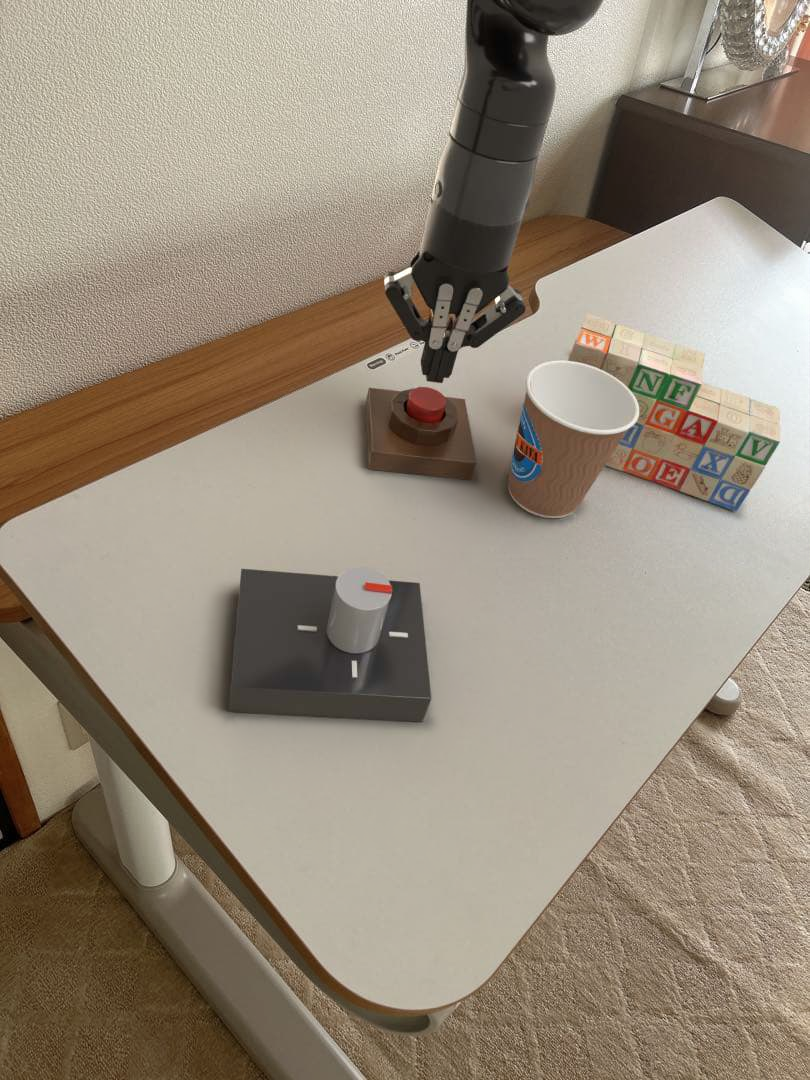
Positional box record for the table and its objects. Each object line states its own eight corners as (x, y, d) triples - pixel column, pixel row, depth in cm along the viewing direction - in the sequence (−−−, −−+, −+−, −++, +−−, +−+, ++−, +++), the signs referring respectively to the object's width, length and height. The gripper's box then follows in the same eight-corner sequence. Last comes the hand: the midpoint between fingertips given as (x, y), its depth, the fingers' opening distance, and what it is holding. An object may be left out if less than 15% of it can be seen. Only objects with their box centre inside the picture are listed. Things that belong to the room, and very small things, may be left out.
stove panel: (228, 712, 62) (231, 686, 60) (238, 593, 70) (241, 566, 68) (423, 722, 65) (432, 697, 63) (412, 606, 72) (420, 581, 70)
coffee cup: (483, 454, 88) (517, 353, 80) (580, 464, 90) (623, 366, 82) (499, 527, 81) (537, 424, 73) (604, 536, 83) (653, 437, 75)
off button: (407, 422, 84) (410, 407, 82) (404, 399, 86) (408, 384, 85) (444, 426, 84) (448, 411, 83) (440, 403, 87) (444, 389, 86)
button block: (368, 469, 83) (375, 436, 80) (365, 404, 90) (371, 372, 87) (471, 480, 85) (481, 448, 82) (459, 415, 92) (469, 384, 89)
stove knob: (324, 650, 64) (334, 603, 60) (327, 607, 67) (337, 560, 63) (379, 656, 64) (392, 610, 61) (380, 614, 67) (393, 567, 63)
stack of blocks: (739, 478, 94) (797, 383, 85) (736, 514, 89) (797, 418, 81) (548, 409, 96) (586, 310, 87) (536, 441, 92) (575, 340, 83)
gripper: (550, 191, 74) (495, 362, 86) (395, 165, 72) (361, 345, 84) (567, 233, 69) (507, 410, 81) (401, 207, 67) (364, 393, 79)
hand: (433, 377), depth 82 cm, fingers closed
